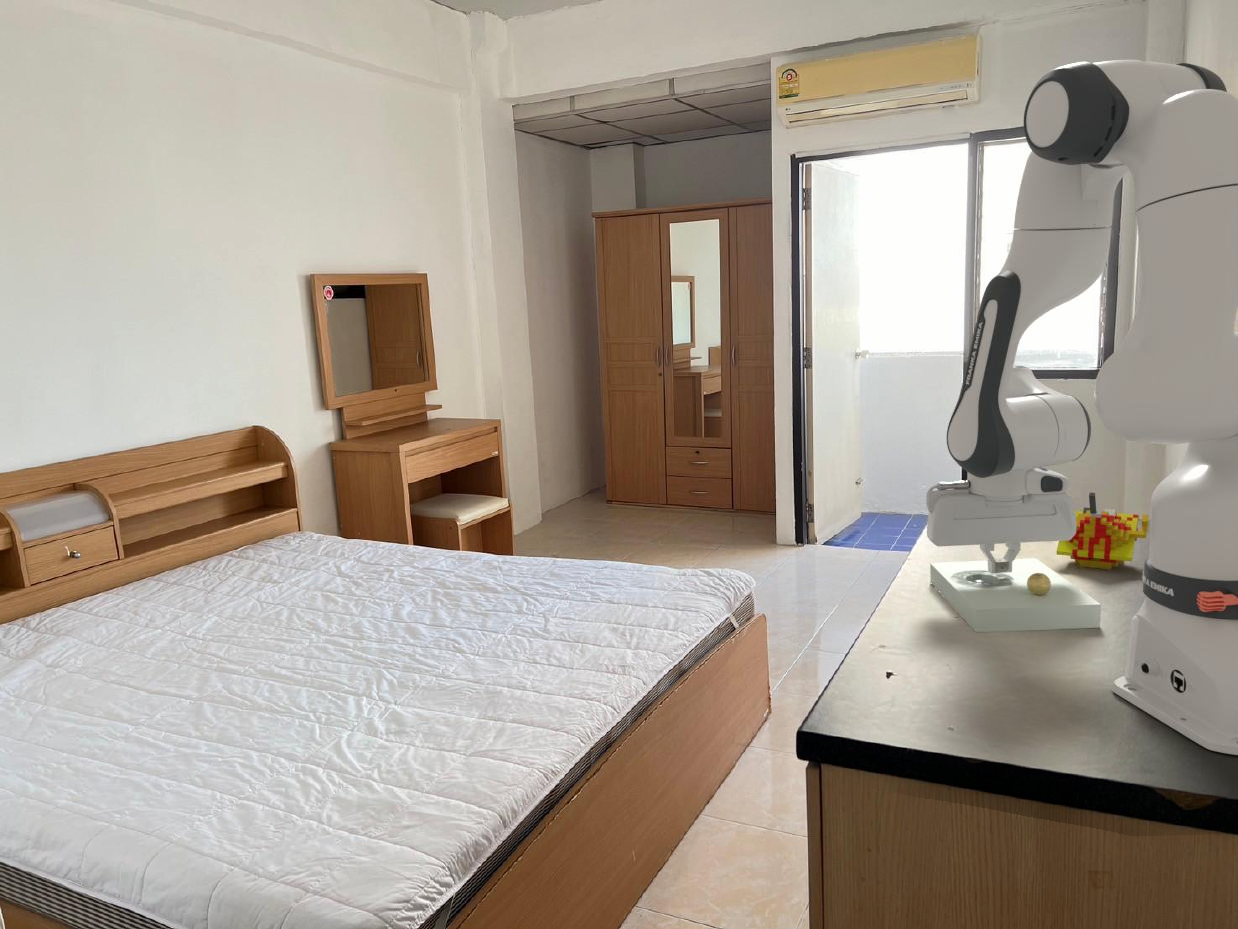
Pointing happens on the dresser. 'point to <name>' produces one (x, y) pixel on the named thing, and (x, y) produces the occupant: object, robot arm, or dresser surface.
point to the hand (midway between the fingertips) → (999, 571)
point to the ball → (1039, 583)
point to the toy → (1103, 537)
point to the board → (1013, 597)
